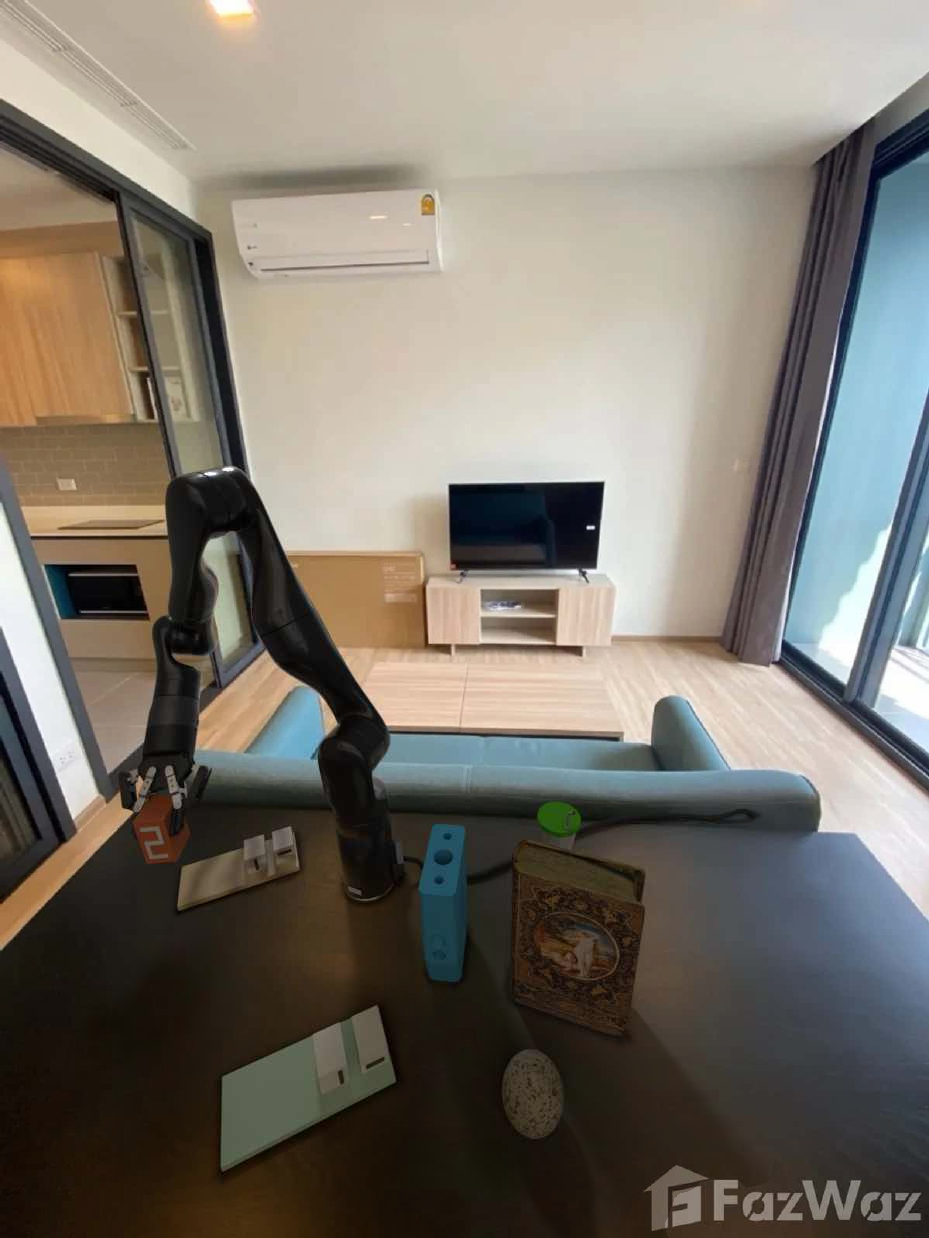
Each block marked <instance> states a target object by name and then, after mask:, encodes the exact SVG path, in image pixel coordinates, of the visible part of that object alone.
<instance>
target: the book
mask: <svg viewBox="0 0 929 1238" xmlns="http://www.w3.org/2000/svg"><path fill="white" fill-rule="evenodd" d="M511 859H512V865H511V882H510V883H511V884H510V885H511V886H510V887H511V889H510V934H509V978H508V979H509V980H508V983H509V984H508V988H509V994H510V997H511V999H512V1000H513V1002H516V1003H519V1004H522V1005H524V1006H527V1007H530V1008H533V1009H536V1010H538V1011H541V1012H544V1013H546V1014H547V1013H548V1014H551V1015H553V1016H555V1017H559V1018H562V1019H565V1020H567V1021H569V1022H573V1023H576V1024H578V1025H582V1026H585V1027H588V1028H589V1029H593V1030H596V1031H599V1032H602V1033H605V1034H608V1035H611V1036H614V1037H617V1038H623V1037H625V1036H626V1033H627V1031H628V1026H629V1020H630V1013H631V1006H632V1000H633V994H634V988H635V980H636V975H637V968H638V963H639V962H638V961H639V957H640V956H639V955H640V949H641V942H642V937H643V930H644V925H645V916H646V907H645V905H644V904H643V896H644V889H645V882H646V870H645V869H644V868H643V867H642V866H637V865H633V864H629V863H625V862H620V861H616V860H613V859H609V858H605V857H601V856H598V855H597V856H596V855H593V854H589V853H586V852H585V853H584V852H581V851H577V850H573V849H572V850H569V849H565V848H561V847H557V846H553V845H549V844H544V843H542V842H540V841H537V840H532V839H524V840H522V841H520V842H518V843H517V844H516V845H515V847H514V849H513V851H512V855H511Z"/></svg>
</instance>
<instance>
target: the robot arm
mask: <svg viewBox="0 0 929 1238" xmlns="http://www.w3.org/2000/svg"><path fill="white" fill-rule="evenodd" d="M165 489H166V490H165V495H164V513H165V523H166V534H167V542H168V553H169V559H170V564H171V565H170V567H171V568H170V569H171V580H170V587H169V592H168V599H167V614H162V615H161V616H159V617H157V619H156V620H155V621H154V622H153V625H152V628H151V641H152V646H153V650H154V651H153V652H154V657H155V665H156V666H155V667H156V671H155V672H156V673H155V675H156V676H155V684H154V688H153V695H152V700H151V705H150V708H149V711H148V715H147V721H146V728H145V734H144V739H143V746H142V751H141V752H142V753H141V754H142V755H141V756H142V757H141V762H140V763H139V764H138V767H137V768H135V769H132V770H129V771H125V770H122V771H120V772H119V773H118V775H117V776H118V786H119V794H120V795H119V796H120V804H121V808H122V809H123V810H128V811H131V812H132V813H133V818H132V825H131V830H130V833H131V836H133V839H134V840H138V837H137V834H136V831H135V828H134V825H133V821H134V820H135V818H136V817H137V815H138V814H139V812H140V811H141V809H142V808H143V806H144V805H145V804H146V802H147V801H148V799H149V798H152V797H157V796H159V795H158V794H159V792H162V791H165V790H168V792H169V795H171V796H172V800H173V806H174V810H172V814H171V822H170V829H169V836H178V835H179V834H180V831H182V830H183V828H184V823H185V817H186V814H187V810H188V809H189V808H190V807H192V806H195V805H199V804H200V803H201V800H202V798H203V795H204V794H205V790H206V787H207V786H208V782H209V779H210V777H211V775H212V772H213V769H212V767H211V766H208V765H204V764H202V765H201V764H200V765H199V764H196V761H195V758H194V757H195V753H196V747H197V738H198V729H199V725H200V700H201V694H202V693H201V692H202V685H203V672H202V670H201V669H200V668H198V667H195V666H194V665H190V664H186V663H183V662H180V661H178V660H177V659H176V658H175V657H174V656H173V655H177V656H189V657H191V656H192V657H206V656H209V655H211V654H212V653H213V652H214V651H215V650H216V649H217V647H218V644H219V630H218V626H217V622H216V619H215V609H216V605H217V600H218V598H219V597H218V596H219V590H220V584H219V579H218V576H217V574H216V572H215V570H214V569H213V567H212V566H211V565H210V564H209V562H207V560H206V559H205V558H204V553H205V550H206V547H207V546H208V543H209V542H210V541H211V540H216V539H219V538H222V537H225V536H227V535H230V534H233V533H235V534H236V535H237V537H238V539H239V541H240V542H241V544H242V547H243V549H244V551H245V553H246V556H247V560H248V562H249V567H250V572H251V573H250V574H251V591H250V593H251V594H250V617H251V623H252V626H253V629H254V631H255V633H256V635H257V637H258V638H259V641H260V642H261V643H262V645H263V647H264V648H265V650H266V652H267V653H268V655H269V657H270V658H271V660H272V662H273V663H274V664H275V665H276V666H277V667H278V668H279V669H280V670H281V671H283V672H284V673H285V674H287V675H288V676H290V677H291V678H293V679H295V680H297V681H299V682H300V683H302V684H304V685H305V686H307V687H309V688H310V689H312V690H313V691H314V692H316V693H317V694H318V695H319V697H321V698H322V699H323V701H324V702H325V703H326V705H327V707H328V709H329V710H330V711H331V713H332V715H333V717H334V719H335V721H336V725H335V726H334V727H333V728H332V729H331V730H330V731H329V732H328V733H327V734H326V736H324V738H323V739H322V740H321V741H320V743H319V745H318V747H317V755H316V756H317V757H316V760H317V766H318V771H319V775H320V780H321V784H322V788H323V792H324V796H325V798H326V801H327V803H328V804H329V806H330V808H331V809H332V816H333V823H334V828H335V836H336V842H337V848H338V855H339V862H340V867H341V873H342V881H343V882H342V883H343V889H344V891H345V894H346V895H347V897H349V898H350V899H351V900H353V901H355V902H358V903H364V904H365V903H372V902H376V901H378V900H381V899H382V898H384V897H386V896H387V895H388V894H389V893H390V892H392V890H393V888H394V887H395V886H397V885H399V884H400V878H401V877H405V876H406V871H405V869H406V867H405V863H413V864H416V865H417V866H418V868H419V869H420V870H421V871H423V866H424V862H423V860H421V859H420V858H418V857H415V856H411V855H410V856H409V855H404V848H403V840H402V841H401V840H400V841H395V838H394V835H393V831H392V823H391V814H390V803H389V792H388V788H387V785H386V784H385V783H384V781H383V780H382V779H380V778H378V777H376V776H373V773H374V772H375V770H376V769H377V767H378V765H379V764H380V763H381V762H382V760H383V759H384V757H386V755H387V753H388V751H389V749H390V746H391V734H390V730H389V727H388V726H387V723H386V722H385V721H384V718H383V717H382V715H381V714H380V712H379V711H378V710H377V708H376V706H375V705H374V704H373V702H372V701H371V700H370V697H368V695H367V694H366V692H365V691H364V689H363V688H362V686H361V685H360V684H359V682H358V681H357V679H356V678H355V675H353V673H352V671H351V669H350V667H349V666H348V664H347V663H346V660H345V659H344V657H343V656H342V653H341V652H340V651H339V649H338V647H337V646H336V643H335V642H334V640H333V638H332V636H331V634H330V633H329V630H328V628H327V626H326V624H325V622H324V620H323V619H322V617H321V615H320V613H319V612H318V610H317V608H316V606H315V605H314V603H313V601H312V600H311V598H310V596H309V595H308V593H307V591H306V590H305V587H304V586H303V584H302V581H301V580H300V579H299V577H298V574H297V573H296V571H295V569H294V567H293V565H292V563H291V561H290V559H289V557H288V555H287V553H286V551H285V549H284V547H283V545H282V543H281V540H280V538H279V536H278V533H277V531H276V529H275V526H274V524H273V521H272V520H271V517H270V515H269V512H268V510H267V508H266V506H265V504H264V501H263V499H262V497H261V495H260V493H259V491H258V489H257V488H256V486H255V485H254V483H253V481H252V480H251V479H250V477H249V476H248V475H247V474H246V473H245V472H244V471H243V470H242V469H240V468H238V467H237V466H235V465H221V466H216V467H210V468H207V469H201V470H197V471H193V472H187V473H184V474H181V475H178V476H175V477H174V478H172V479H171V480H169V483H168V485H167V487H166V488H165ZM190 775H192V777H193V781H192V783H191V785H190V789H189V791H188V789H187V783H186V780H187V779H188V778H189V777H190ZM139 777H140V779H141V781H142V785H141V786H140V789H139V791H137V783H138V782H139ZM740 814H745V815H746V814H747V815H748V816H750V817H754V816H755V813H754V812H753V811H752V810H750V809H747V808H737V809H733V810H731V811H727V812H723V813H719V814H693V813H682V812H681V813H680V812H653V813H652V812H650V813H640V814H639V813H638V814H630V815H622V816H618V817H612V818H609V819H605V820H600V821H597V822H594V823H591V824H588V825H585V826H582V827H580V828H579V831H577V832H576V835H575V836H578V835H580V834H583V833H585V832H588V831H591V830H594V829H597V828H601V827H603V826H608V825H612V824H616V823H617V824H618V823H622V822H627V821H637V820H646V819H647V820H648V819H688V820H699V821H700V820H701V821H718V820H720V821H721V820H725V819H727V818H731V817H735V816H737V815H740ZM509 866H512V858H510V859H507V860H505V861H503V862H499V863H498V864H496V865H493V866H492V867H490V868H487V869H484V870H482V871H478V872H473V873H466V879H467V881H468V880H476V879H480V878H483V877H487V876H489V875H491V874H494V873H496V872H498V871H500V870H503V869H504V868H507V867H509Z"/></svg>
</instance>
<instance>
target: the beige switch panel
mask: <svg viewBox="0 0 929 1238" xmlns="http://www.w3.org/2000/svg"><path fill="white" fill-rule="evenodd" d="M271 836H272V838H271V839H267V840H266V839H265V835H264V834H260V835H256V836H253V837H251V838H250V837H249V838H247V839H244V840H243V847H241V848H238V849H235V850H231V851H228V852H226V853H222V854H219V855H216V856H211V857H208V858H205V859H203V860H199V861H196V862H193V863H190V864H189V863H188V864H187V865H184V866H181V871H180V880H179V889H178V899H177V906H176V907H177V910H178V912H180V911H183V910H186V909H189V908H191V907H196V906H198V905H201V904H204V903H206V902H210V901H213V900H215V899H218V898H221V897H225V896H228V895H231V894H233V893H236V892H239V891H242V890H245V889H249V888H251V887H254V886H257V885H261V884H263V883H266V882H269V881H272V880H275V879H278V878H281V877H284V876H287V875H290V874H293V873H295V872H298V871H299V872H300V870H301V869H300V862H299V861H300V860H299V856H298V848H297V843H296V842H297V841H296V835H295V832H294V831H293V829H292V826H291V825H290V826H287V827H283V828H280V829H277V830H273V831H271Z"/></svg>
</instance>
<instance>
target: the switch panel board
mask: <svg viewBox="0 0 929 1238" xmlns="http://www.w3.org/2000/svg"><path fill="white" fill-rule="evenodd" d="M389 1050H390V1049H389V1045H388V1042H387V1038H386V1034H385V1028H384V1024H383V1021H382V1018H381V1013H380V1009H379V1006H378V1004H375V1005H374V1006H372V1007H370V1008H367V1009H365V1010H363V1011H361V1012H358V1013H356V1014H354V1015H352V1016H351V1017H349V1018H348V1019H346V1020H343V1021H341V1022H340V1021H339V1022H337V1023H334V1024H332V1025H330V1026H328V1027H325V1028H324V1029H321V1030H319V1031H316V1032H315V1033H313V1034H312V1035H310V1036H308V1037H306V1038H303V1039H302V1040H299V1041H297V1042H295V1043H293V1044H291V1045H289V1046H287V1047H284V1048H282V1049H279V1050H277V1051H276V1052H273V1053H271V1054H269V1055H267V1056H264V1057H263V1058H260V1059H257V1060H256V1061H253V1062H251V1063H250V1064H247V1065H245V1066H242V1067H240V1068H237V1069H236V1070H234V1071H231V1072H229V1073H227V1074H225V1075H222V1077H221V1118H220V1119H221V1122H220V1123H221V1124H220V1125H221V1126H220V1169H221V1171H222V1172H225V1171H227V1170H229V1169H231V1168H233V1167H235V1166H237V1165H239V1164H241V1163H242V1162H245V1161H246V1160H249V1159H250V1158H252V1157H254V1156H256V1155H258V1154H260V1153H262V1152H264V1151H266V1150H268V1149H269V1148H272V1147H273V1146H275V1145H277V1144H280V1143H281V1142H283V1141H285V1140H287V1139H289V1138H291V1137H293V1136H294V1135H296V1134H298V1133H301V1132H302V1131H304V1130H307V1129H308V1128H310V1127H312V1126H314V1125H315V1124H317V1123H320V1122H321V1121H323V1120H325V1119H327V1118H329V1117H331V1116H333V1115H334V1114H337V1113H338V1112H341V1111H342V1110H344V1109H346V1108H349V1107H350V1106H353V1105H354V1104H356V1103H358V1102H360V1101H362V1100H364V1099H366V1098H368V1097H370V1096H372V1095H373V1094H375V1093H378V1092H379V1091H381V1090H383V1089H385V1088H387V1087H389V1086H391V1085H392V1084H395V1083H396V1082H397V1079H396V1075H395V1069H394V1065H393V1062H392V1057H391V1053H390V1051H389Z"/></svg>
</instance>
